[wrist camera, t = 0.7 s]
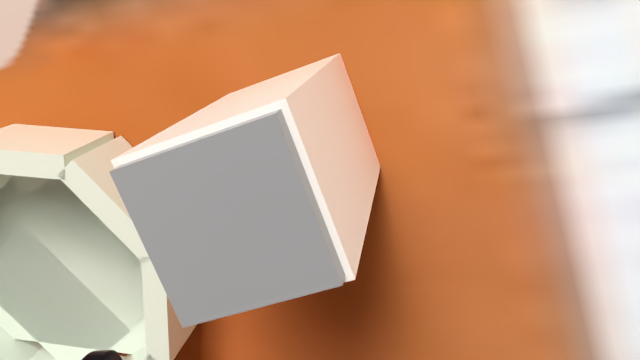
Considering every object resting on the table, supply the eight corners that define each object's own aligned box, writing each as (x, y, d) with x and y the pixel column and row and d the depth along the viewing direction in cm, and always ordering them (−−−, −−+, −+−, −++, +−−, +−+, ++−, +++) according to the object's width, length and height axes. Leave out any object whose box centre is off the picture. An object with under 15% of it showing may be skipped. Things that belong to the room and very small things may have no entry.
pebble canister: (380, 167, 25) (352, 290, 15) (272, 200, 27) (178, 336, 16) (340, 53, 24) (280, 102, 14) (229, 93, 26) (99, 166, 15)
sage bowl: (204, 383, 30) (172, 439, 26) (-26, 352, 32) (-85, 401, 28) (197, 138, 26) (160, 163, 23) (-64, 117, 28) (-139, 138, 24)
